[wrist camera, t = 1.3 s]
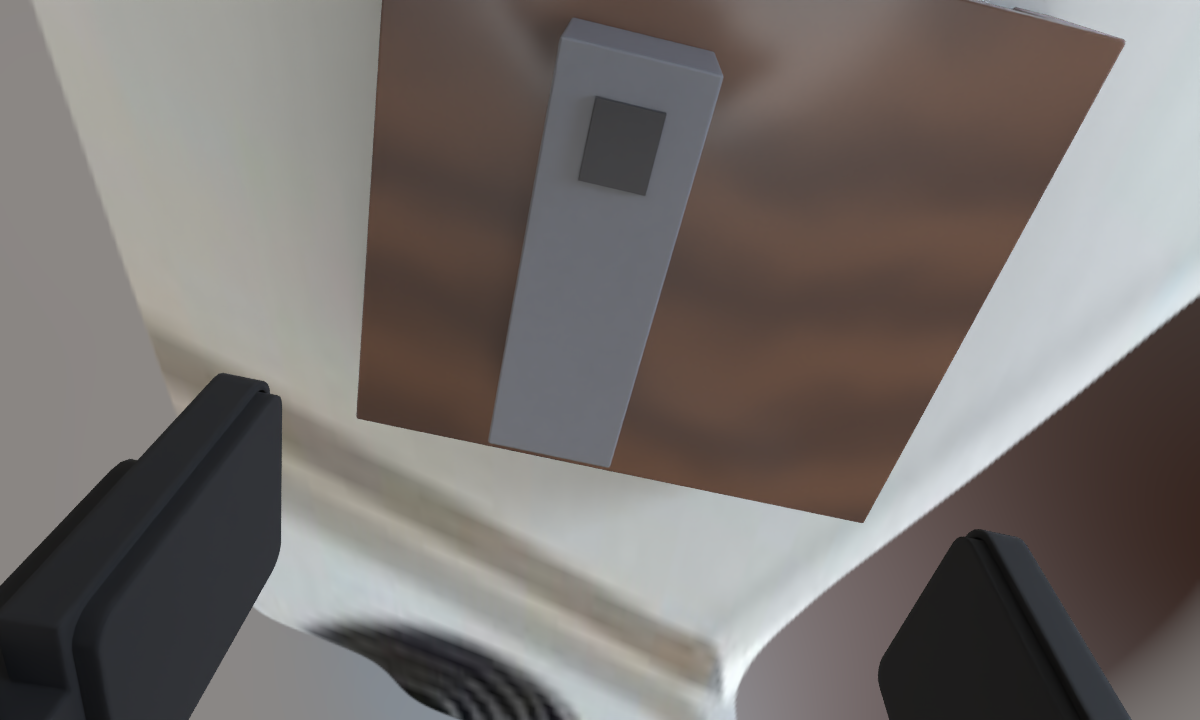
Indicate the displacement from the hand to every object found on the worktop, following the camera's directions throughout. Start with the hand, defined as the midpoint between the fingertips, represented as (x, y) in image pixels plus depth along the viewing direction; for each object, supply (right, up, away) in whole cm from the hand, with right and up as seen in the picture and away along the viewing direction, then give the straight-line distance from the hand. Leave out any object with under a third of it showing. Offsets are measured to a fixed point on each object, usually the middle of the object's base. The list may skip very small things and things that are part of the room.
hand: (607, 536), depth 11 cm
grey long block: (0, +7, +16) cm, 18 cm away
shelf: (+3, +9, +21) cm, 23 cm away
